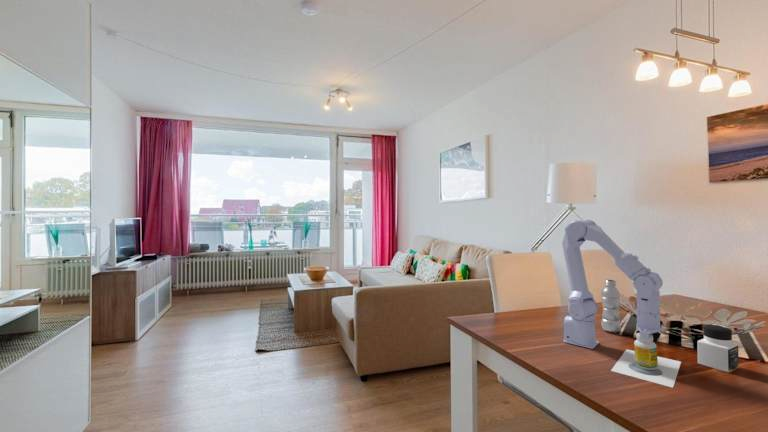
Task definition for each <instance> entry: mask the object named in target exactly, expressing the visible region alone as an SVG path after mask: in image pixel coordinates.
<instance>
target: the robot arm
mask: <svg viewBox="0 0 768 432" xmlns="http://www.w3.org/2000/svg"><path fill="white" fill-rule="evenodd" d="M564 232H565V233H564V236H563V239H562V242H561V245H562V251H563V255H564V256H563V257H564V261H565V266H566V270H567V275H568V279H569V281H568V282H569V285H570V290H571V291H570V294H569V296H568V306H567V312H568V314H569V315H566V316H565V317H564V321H563V342H564V343H568V344H571V345H575V346H580V347H583V348H587V349H592V350H593V349H595V348H596V346H598V345H599V344H600V342H599V341H598V340H596V317H595V316H596V314H597V313H598V312H599V305H598V303H597V302H596V300H595V298H594V295H593V293H592V292H591V291H590V290H589V286H588V282H587V277H586V271H585V267H584V263H583V262H584V261H583V258H582V253H581V246H582V245H583V244H584V243H585V242H586V241H590V242H594V243H596V244H597V245H599V246H600V247H601V249H603V250H604V251H605V252H606V253H608V254H609V255H610V256H611V257H612V258H613V259H614V261H615V262H614V263H615V264H614V265H615V266H616V267H617V268H618V269H619V270H620V271H621V272H622V273H623V274H624V275H625V276H626V277H627V278H629V279H630V281H632V286H633V287H634V288H635V289H634V290H636V323H635V326H636V329H637V330H636V333H635V335H636V334H637V333H640V338H645V339H649V334H651V335H652V336H653V342H654V343H655V344H656V345H657V342H658V340H659V339H660V337H661V335H662V334H661V332H662V333H665V332H666V328H665V327H661V297H660V294H661V293H660V289H661V288H662V286H663V279H662V278H661V276H660V275H659V274H658V273H657V272H654V271H652V270H651V268H650V267H648V268H647V267H646V266H645V265H644V264H643V263H642V262H641V261H640V260H639V256H637V255H636V254H635V255H633V254H632V253H627V252H624V250H622V249H621V248H620V247H619V246H618V244H616V242H615V241H613V239H611V237H610V236H609V235H608V234H607V233H606V232H605V231H604V230H603V228H602V227H601V226H600V225H597V224H596V222H595V221H593V220H591V219H585V220H577V219H575V220H572V221H570V222H569V223H568V224H566V226H565V227H564Z"/></svg>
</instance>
